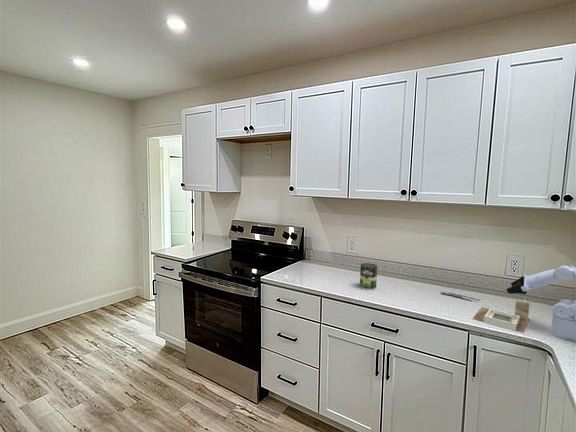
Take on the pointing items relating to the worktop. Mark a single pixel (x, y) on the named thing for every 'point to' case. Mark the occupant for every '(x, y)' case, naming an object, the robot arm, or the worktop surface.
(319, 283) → the worktop surface
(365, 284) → the coffee can
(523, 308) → the tall bronze block
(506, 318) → the cream square tray
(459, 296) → the driftwood
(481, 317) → the board
